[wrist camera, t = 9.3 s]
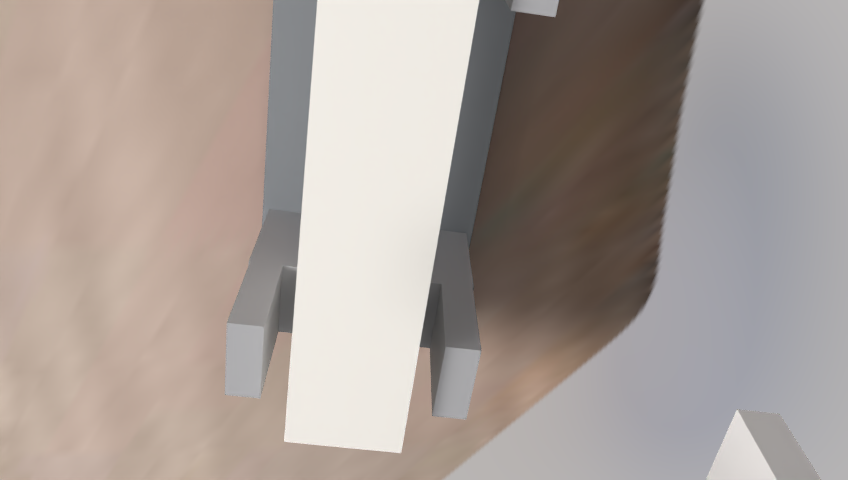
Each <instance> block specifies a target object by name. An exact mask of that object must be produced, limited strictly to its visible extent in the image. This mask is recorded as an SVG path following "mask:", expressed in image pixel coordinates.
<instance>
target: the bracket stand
mask: <svg viewBox="0 0 848 480" xmlns="http://www.w3.org/2000/svg"><path fill="white" fill-rule="evenodd" d="M558 3H559V0H479V5H478V10H477V16H476V22H475V28H474V34H473V39H472V45H471V51H470V57H469V63H468V68H467V74H466V80H465V86H464V92H463V97H462V103H461V109H460V115H459V121H458V126H457V132H456V138H455V144H454V149H453V155H452V161H451V167H450V173H449V178H448V184H447V190H446V196H445V202H444V207H443V213H442V219H441V225H440V231H439V236H438V242H437V248H436V254H435V259H434V265H433V271H432V277H431V283H430V288H429V294H428V300H427V306H426V312H425V317H424V323H423V329H422V335H421V341H420V346H419V347H425V348H430V365H431V392H432V416H437V417H447V418H457V419H466V417H467V413H468V408H469V404H470V399H471V395H472V390H473V386H474V381H475V377H476V372H477V368H478V363H479V359H480V354H481V345H480V338H479V330H478V323H477V316H476V308H475V301H474V294H473V290H474V285H473V277H472V270H471V263H470V256H469V247H470V242H471V237H472V231H473V226H474V221H475V216H476V211H477V206H478V201H479V196H480V191H481V186H482V181H483V176H484V171H485V166H486V160H487V155H488V150H489V145H490V140H491V135H492V130H493V125H494V120H495V115H496V110H497V105H498V100H499V95H500V89H501V84H502V79H503V74H504V69H505V64H506V59H507V54H508V49H509V44H510V39H511V34H512V29H513V24H514V18H515V13H516V12H523V13H530V14H537V15H544V16H550V17H555V16H556V12H557V7H558ZM316 12H317V0H273V20H272V40H271V60H270V80H269V100H268V120H267V140H266V160H265V180H264V200H263V220H262V229H261V231H260V234H259V236H258V239H257V242H256V244H255V247H254V249H253V252H252V255H251V257H250V260H249V266H248V269H247V271H246V274H245V277H244V279H243V282H242V284H241V287H240V290H239V292H238V295H237V298H236V300H235V303H234V305H233V308H232V311H231V313H230V316H229V319H228V321H227V337H226V374H225V395H232V396H242V397H251V398H260V397H261V393H262V390H263V386H264V382H265V379H266V375H267V371H268V367H269V364H270V360H271V356H272V353H273V349H274V345H275V342H276V338H277V334H278V331H279V332H288V333H292V331H293V317H294V304H295V291H296V278H297V264H298V251H299V238H300V224H301V211H302V198H303V184H304V171H305V158H306V145H307V131H308V118H309V105H310V91H311V78H312V65H313V52H314V38H315V25H316Z"/></svg>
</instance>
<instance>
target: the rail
mask: <svg viewBox="0 0 848 480" xmlns="http://www.w3.org/2000/svg"><path fill="white" fill-rule="evenodd" d="M478 5H479V0H317V12H316V25H315V38H314V52H313V65H312V78H311V91H310V105H309V118H308V131H307V145H306V158H305V171H304V184H303V198H302V211H301V224H300V238H299V251H298V264H297V278H296V291H295V304H294V317H293V331H292V344H291V357H290V371H289V384H288V397H287V410H286V424H285V437H284V442H292V443H302V444H313V445H323V446H333V447H344V448H354V449H364V450H375V451H385V452H395V453H401V451H402V445H403V439H404V433H405V427H406V422H407V416H408V410H409V404H410V398H411V393H412V387H413V381H414V375H415V369H416V364H417V358H418V352H419V346H420V341H421V335H422V329H423V323H424V317H425V312H426V306H427V300H428V294H429V288H430V283H431V277H432V271H433V265H434V259H435V254H436V248H437V242H438V236H439V231H440V225H441V219H442V213H443V207H444V202H445V196H446V190H447V184H448V178H449V173H450V167H451V161H452V155H453V149H454V144H455V138H456V132H457V126H458V121H459V115H460V109H461V103H462V97H463V92H464V86H465V80H466V74H467V68H468V63H469V57H470V51H471V45H472V39H473V34H474V28H475V22H476V16H477V10H478Z"/></svg>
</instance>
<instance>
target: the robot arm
mask: <svg viewBox="0 0 848 480" xmlns="http://www.w3.org/2000/svg"><path fill="white" fill-rule="evenodd" d="M706 480H821V479H820V477H819V476H818V474H817V472H816V471H815V469H814V468H813V466H812V465H811V463H810V461H809V460H808V458H807V457H806V455H805V454H804V452H803V450H802V449H801V447H800V445H799V444H798V442H797V441H796V439H795V438H794V436H793V434H792V433H791V431H790V430H789V428H788V426H787V425H786V423H785V422H784V420H783V419H782V417H781V416H780V414H775V413H766V412H756V411H747V410H738V409H737V411H736V413H735V416H734V418H733V420H732V422H731V424H730V427H729V429H728V431H727V433H726V436H725V438H724V440H723V442H722V445H721V447H720V449H719V451H718V454H717V456H716V458H715V461H714V463H713V465H712V467H711V469H710V472H709V474H708V476H707V478H706Z"/></svg>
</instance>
